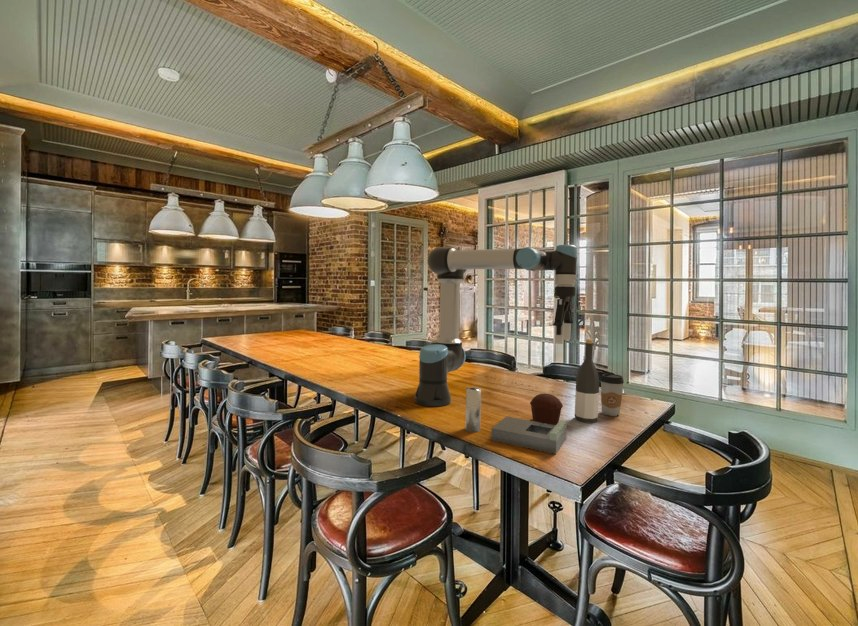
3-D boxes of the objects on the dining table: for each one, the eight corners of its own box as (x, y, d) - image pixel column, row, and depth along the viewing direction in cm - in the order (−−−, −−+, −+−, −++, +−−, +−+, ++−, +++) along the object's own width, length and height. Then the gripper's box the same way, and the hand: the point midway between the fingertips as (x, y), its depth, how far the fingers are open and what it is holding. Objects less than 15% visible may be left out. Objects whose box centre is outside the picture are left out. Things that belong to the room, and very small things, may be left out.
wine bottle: (583, 423, 147) (586, 340, 145) (569, 416, 155) (573, 337, 153) (602, 422, 149) (606, 340, 148) (588, 415, 157) (591, 337, 155)
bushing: (462, 430, 138) (463, 388, 137) (469, 426, 143) (470, 385, 142) (476, 433, 136) (477, 391, 135) (482, 428, 140) (483, 387, 139)
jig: (491, 440, 129) (491, 421, 129) (506, 427, 142) (506, 410, 141) (555, 454, 120) (556, 434, 119) (566, 439, 132) (566, 421, 131)
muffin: (523, 418, 152) (523, 392, 151) (546, 415, 156) (547, 389, 156) (544, 429, 141) (545, 400, 140) (569, 425, 146) (570, 397, 145)
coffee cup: (599, 415, 158) (600, 376, 157) (598, 409, 165) (600, 372, 164) (623, 418, 155) (625, 378, 154) (621, 412, 162) (623, 374, 161)
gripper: (568, 285, 143) (566, 346, 145) (581, 286, 165) (579, 339, 166) (546, 285, 147) (544, 344, 148) (562, 286, 169) (560, 337, 170)
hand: (562, 341), depth 157 cm, fingers open, 13 cm apart
